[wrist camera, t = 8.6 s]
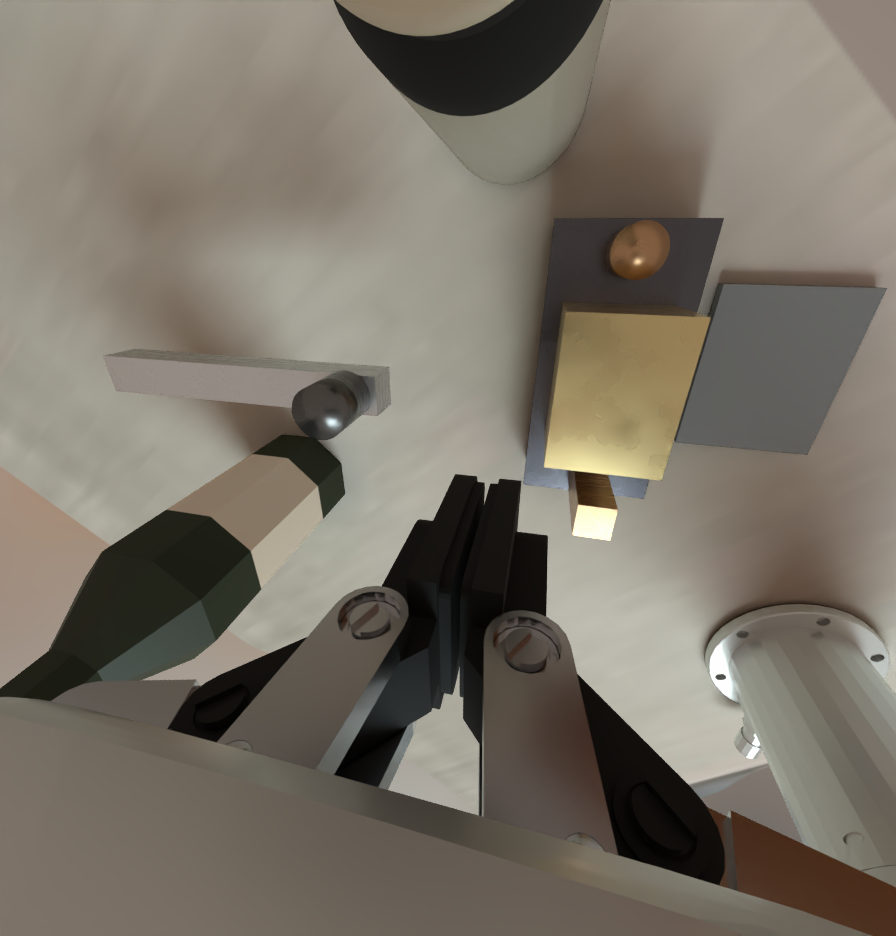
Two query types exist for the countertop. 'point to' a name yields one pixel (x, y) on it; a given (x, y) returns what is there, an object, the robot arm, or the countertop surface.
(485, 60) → the travel mug
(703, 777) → the countertop surface
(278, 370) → the bar
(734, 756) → the countertop surface
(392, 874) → the robot arm
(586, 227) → the dark slate base plate
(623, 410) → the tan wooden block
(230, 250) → the countertop surface
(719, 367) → the rubber mat
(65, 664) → the wine bottle
